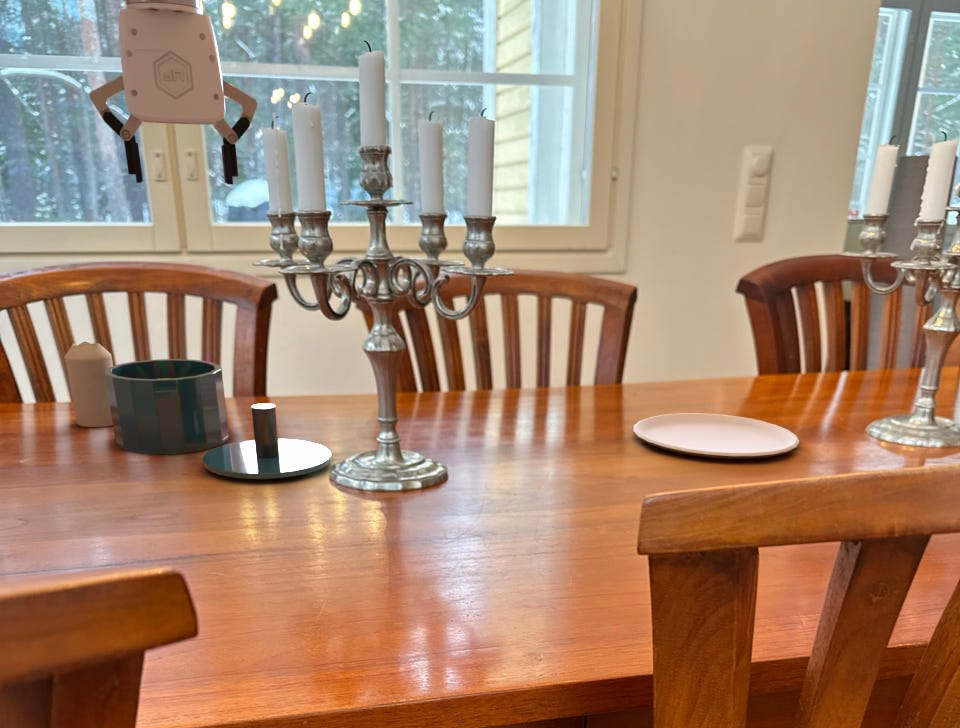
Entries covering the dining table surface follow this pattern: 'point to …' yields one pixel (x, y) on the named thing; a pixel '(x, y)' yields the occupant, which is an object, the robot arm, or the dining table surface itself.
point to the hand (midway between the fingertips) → (185, 183)
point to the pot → (167, 405)
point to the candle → (89, 383)
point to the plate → (716, 435)
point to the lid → (266, 452)
